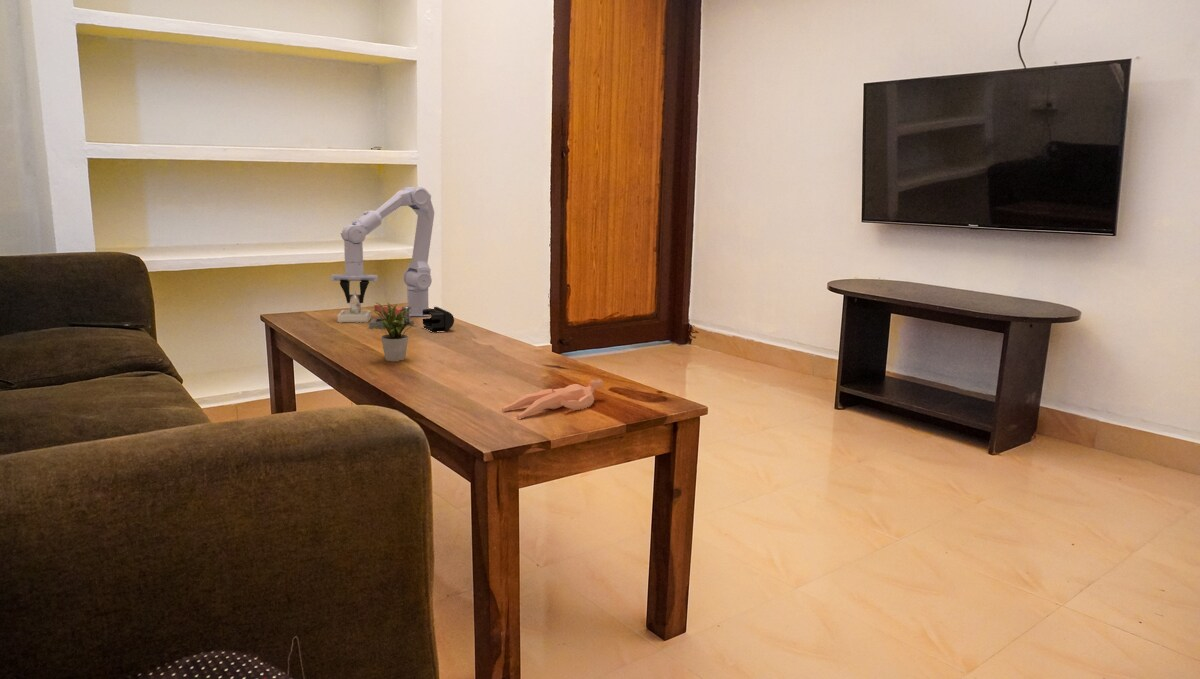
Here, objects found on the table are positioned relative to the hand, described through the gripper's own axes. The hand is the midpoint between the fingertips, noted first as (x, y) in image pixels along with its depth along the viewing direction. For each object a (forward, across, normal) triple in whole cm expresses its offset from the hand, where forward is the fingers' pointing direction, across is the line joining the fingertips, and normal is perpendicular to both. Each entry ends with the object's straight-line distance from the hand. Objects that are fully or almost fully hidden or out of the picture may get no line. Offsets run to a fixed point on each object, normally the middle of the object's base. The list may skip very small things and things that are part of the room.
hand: (355, 302), depth 261 cm
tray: (+6, 0, +1) cm, 6 cm away
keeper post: (+6, +17, -6) cm, 19 cm away
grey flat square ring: (+6, +10, -9) cm, 15 cm away
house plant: (+6, +16, -54) cm, 57 cm away
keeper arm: (+3, +11, -1) cm, 12 cm away
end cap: (+6, +28, -14) cm, 32 cm away
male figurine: (+7, +57, -100) cm, 115 cm away
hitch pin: (+3, 0, 0) cm, 3 cm away
